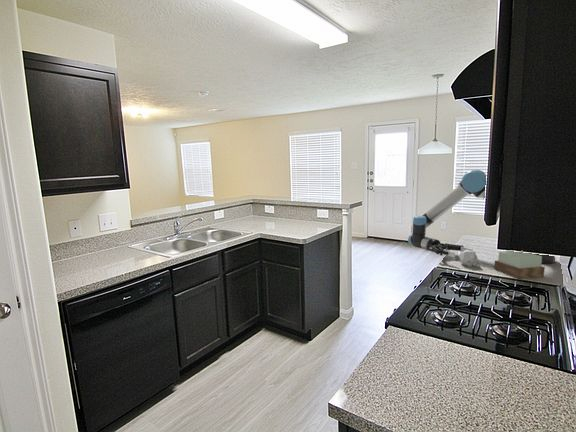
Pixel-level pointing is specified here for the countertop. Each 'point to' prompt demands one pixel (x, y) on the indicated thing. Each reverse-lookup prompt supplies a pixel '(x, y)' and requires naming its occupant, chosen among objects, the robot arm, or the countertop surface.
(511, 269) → the tower base
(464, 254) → the gray faceted rock
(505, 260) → the tower top
